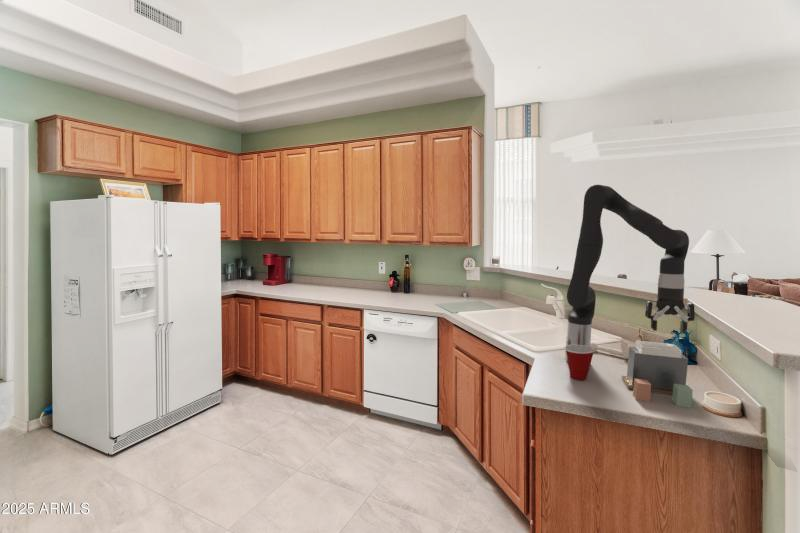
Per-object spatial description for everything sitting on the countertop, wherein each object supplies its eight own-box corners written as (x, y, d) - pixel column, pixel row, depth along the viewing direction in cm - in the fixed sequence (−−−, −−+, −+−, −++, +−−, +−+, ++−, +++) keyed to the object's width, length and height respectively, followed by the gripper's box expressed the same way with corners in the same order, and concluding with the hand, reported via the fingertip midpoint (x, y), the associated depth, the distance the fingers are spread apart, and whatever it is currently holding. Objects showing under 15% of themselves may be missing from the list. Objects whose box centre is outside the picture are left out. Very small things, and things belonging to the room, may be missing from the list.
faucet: (593, 359, 179) (587, 338, 180) (633, 356, 166) (626, 334, 167) (589, 361, 176) (583, 340, 177) (630, 358, 163) (623, 336, 165)
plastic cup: (565, 369, 152) (567, 341, 150) (595, 376, 145) (597, 346, 144) (559, 378, 143) (561, 348, 142) (590, 385, 137) (592, 354, 135)
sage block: (676, 405, 122) (677, 388, 121) (672, 400, 125) (673, 383, 125) (691, 407, 120) (692, 390, 120) (686, 402, 124) (687, 385, 123)
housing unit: (627, 388, 134) (631, 346, 132) (621, 378, 143) (624, 338, 142) (691, 397, 128) (695, 352, 126) (680, 386, 137) (684, 344, 136)
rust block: (635, 400, 125) (637, 383, 125) (632, 395, 129) (634, 378, 129) (649, 402, 124) (651, 384, 124) (646, 396, 128) (647, 380, 127)
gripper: (651, 286, 130) (648, 332, 132) (699, 288, 126) (696, 335, 127) (644, 284, 137) (642, 327, 139) (690, 285, 133) (687, 330, 134)
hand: (668, 331), depth 133 cm, fingers open, 8 cm apart
